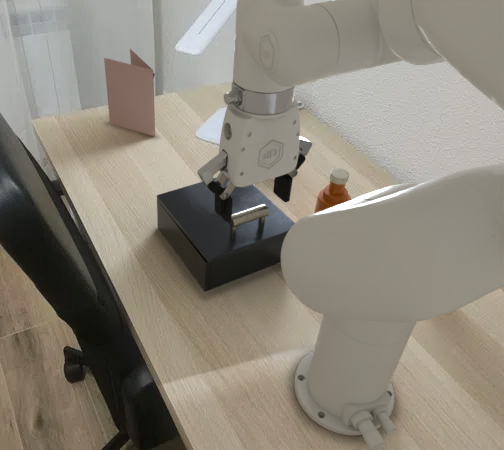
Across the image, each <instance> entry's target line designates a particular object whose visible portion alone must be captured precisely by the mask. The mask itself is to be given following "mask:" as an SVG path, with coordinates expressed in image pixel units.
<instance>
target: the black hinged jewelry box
mask: <svg viewBox="0 0 504 450" xmlns="http://www.w3.org/2000/svg"><path fill="white" fill-rule="evenodd" d="M156 212H157V213H156V214H157V216H156V217H157V229H158V230H159V231H160V233H161V234H162V235H163V237H164V238H165V240H166V241H167V242H168V244H169V246H171V248H172V249H173V251H174V252H175V253H176V254H177V256H178V258H179V259H180V260H181V262H182V263H183V264H184V266H185V267H186V268H187V270H188V271H189V273H190V274H191V275H192V276H193V278H194V279H195V281H196V282H197V283H198V285H199V286H200V288H201V289H202V291H203V292H205V293H206V292H208V291H211V290H213V289H216V288H219V287H222V286H224V285H226V284H229V283H232V282H234V281H236V280H240V279H242V278H245V277H247V276H250V275H253V274H255V273H257V272H260V271H262V270H266V269H268V268H271V267H273V266H275V265H278V264H281V248H282V244H283V241H284V238H285V236H283V237H280V238H277V239H275V240H272V241H269V242H267V243H264V244H261V245H258V246H256V247H253V248H250V249H247V250H245V251H242V252H239V253H236V254H234V255H231V256H228V257H225V258H223V259H220V260H217V261H214V262H212V263H208V262H207V260H206V259H205V258H204V257H203V255H202V254H201V253H200V252H199V250H198V249H197V248H196V247H195V246H194V244H193V243H192V242H191V241H190V239H189V238H188V237H187V236H186V234H185V233H184V232H183V231H182V229H181V228H180V227H179V226H178V225H177V223H176V222H175V221H174V220H173V218H172V217H171V216H170V215H169V213H168V212H167V211H166V210H165V208H164V207H163V206H162V205H161V203H160V202H159V201H158V200H157V199H156Z"/></svg>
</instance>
